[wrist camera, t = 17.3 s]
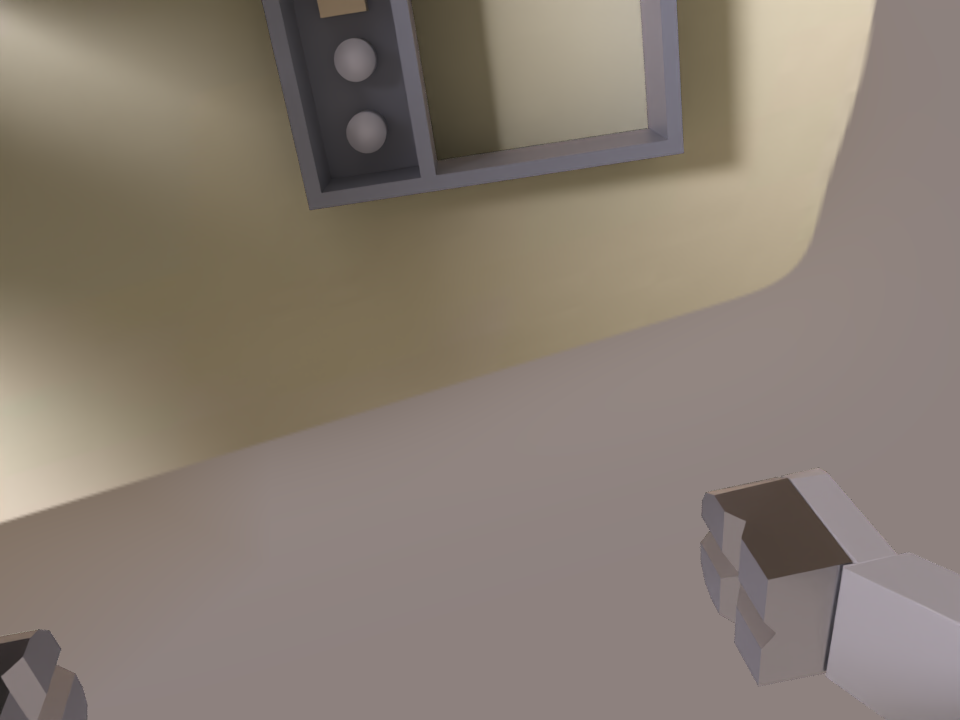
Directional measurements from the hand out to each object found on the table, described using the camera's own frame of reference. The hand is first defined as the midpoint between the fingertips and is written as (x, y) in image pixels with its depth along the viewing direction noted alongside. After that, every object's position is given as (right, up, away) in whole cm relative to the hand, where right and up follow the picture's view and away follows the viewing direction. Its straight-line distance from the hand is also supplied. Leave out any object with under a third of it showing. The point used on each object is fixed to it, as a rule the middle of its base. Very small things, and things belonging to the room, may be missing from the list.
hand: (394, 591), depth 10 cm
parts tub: (+1, +16, +24) cm, 29 cm away
